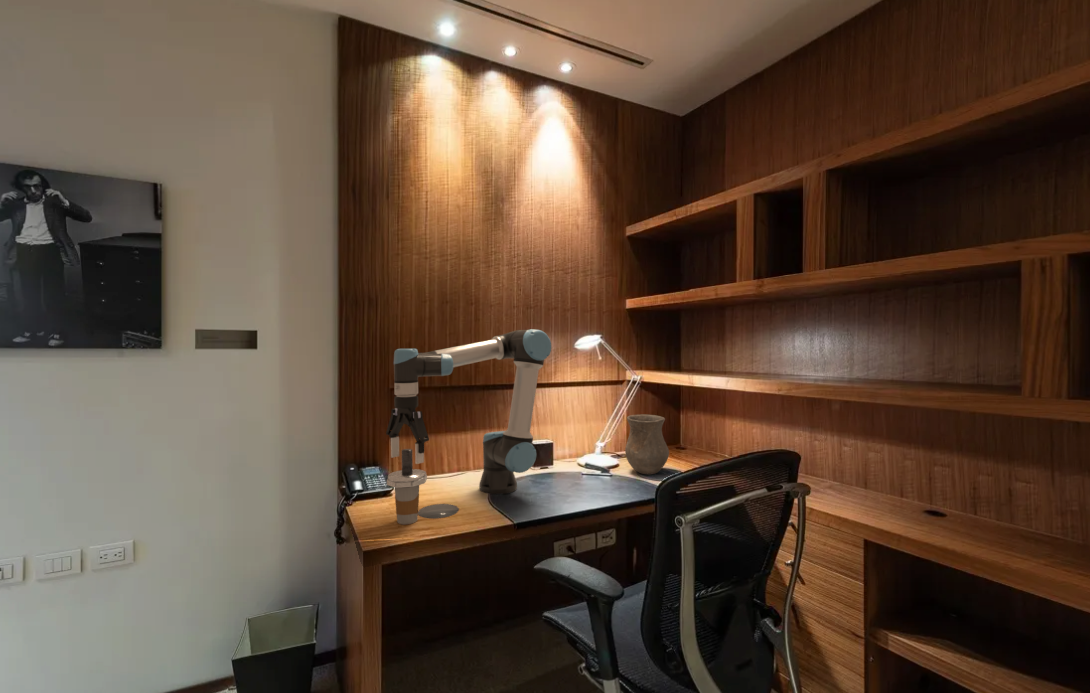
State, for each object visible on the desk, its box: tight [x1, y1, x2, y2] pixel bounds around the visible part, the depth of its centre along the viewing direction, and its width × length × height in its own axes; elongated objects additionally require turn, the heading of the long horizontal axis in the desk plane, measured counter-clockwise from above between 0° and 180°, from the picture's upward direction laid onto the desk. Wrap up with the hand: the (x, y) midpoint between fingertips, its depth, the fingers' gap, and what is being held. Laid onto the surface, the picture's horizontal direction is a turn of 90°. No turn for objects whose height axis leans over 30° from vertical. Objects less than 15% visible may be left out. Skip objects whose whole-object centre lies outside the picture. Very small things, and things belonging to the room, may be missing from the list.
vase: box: [624, 414, 670, 475], centre depth 208 cm, size 20×19×25 cm
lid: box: [386, 448, 428, 489], centre depth 152 cm, size 12×12×10 cm
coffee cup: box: [394, 485, 420, 525], centre depth 153 cm, size 8×8×15 cm
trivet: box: [418, 503, 460, 520], centre depth 161 cm, size 14×14×1 cm
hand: (407, 459), depth 152 cm, fingers open, 13 cm apart
